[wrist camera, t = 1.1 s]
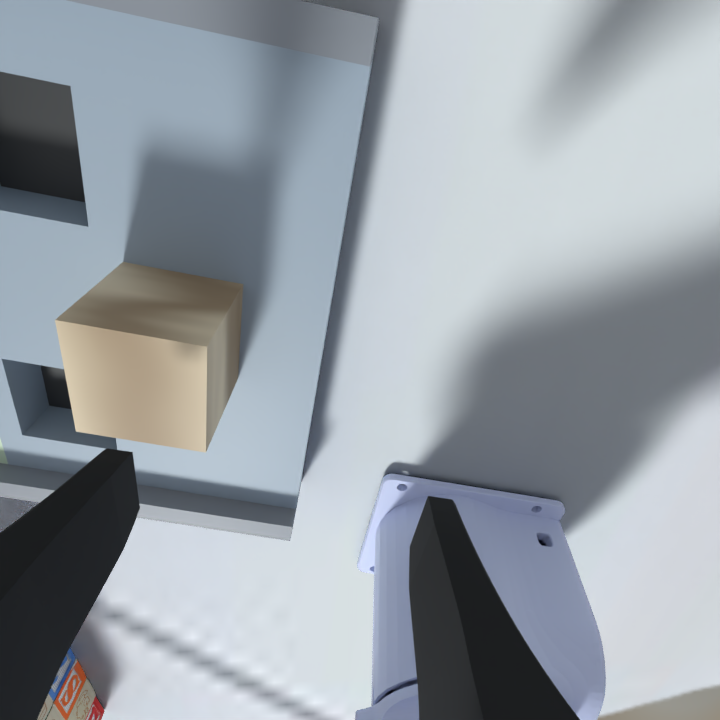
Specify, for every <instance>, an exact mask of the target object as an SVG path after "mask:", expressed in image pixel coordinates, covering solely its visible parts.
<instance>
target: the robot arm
mask: <svg viewBox="0 0 720 720" xmlns="http://www.w3.org/2000/svg"><path fill="white" fill-rule="evenodd" d="M399 484H405V485H399ZM139 510H140V505H139V497H138V489H137V482H136V474H135V466H134V459H133V452H129V451H122V450H115V449H108V448H107V449H105V450H103V451H102V452H101V453H100V454H98V455H97V456H96V457H95V458H94V459H92V460H91V461H90V462H89V463H88V464H86V465H85V466H84V467H83V468H82V469H80V470H79V471H78V472H77V473H76V474H74V475H73V476H72V477H71V478H70V479H68V480H67V481H66V482H65V483H64V484H62V485H61V486H60V487H59V488H57V489H56V490H55V491H54V492H53V493H51V494H50V495H49V496H48V497H46V498H45V499H44V500H42V501H41V502H40V503H39V504H37V505H36V506H35V507H34V508H32V509H31V510H30V511H29V512H27V513H26V514H25V515H23V516H22V517H21V518H20V519H18V520H17V521H16V522H14V523H13V524H12V525H10V526H9V527H8V528H6V529H5V530H3V531H2V532H1V533H0V720H37V719H38V716H39V714H40V712H41V709H42V707H43V705H44V703H45V700H46V698H47V696H48V693H49V691H50V689H51V687H52V684H53V682H54V680H55V678H56V675H57V673H58V671H59V669H60V666H61V664H62V662H63V660H64V658H65V656H66V654H67V652H68V650H69V648H70V646H71V644H72V642H73V640H74V639H75V637H76V635H77V633H78V631H79V630H80V628H81V626H82V624H83V622H84V620H85V619H86V617H87V615H88V613H89V611H90V610H91V608H92V606H93V604H94V602H95V601H96V599H97V597H98V595H99V593H100V591H101V590H102V588H103V586H104V584H105V582H106V581H107V579H108V577H109V575H110V573H111V571H112V570H113V568H114V566H115V564H116V562H117V560H118V558H119V557H120V555H121V553H122V551H123V549H124V547H125V544H126V542H127V539H128V537H129V535H130V532H131V530H132V527H133V525H134V522H135V520H136V517H137V515H138V512H139ZM564 513H565V508H564V505H563V503H562V502H560V501H557V500H551V499H545V498H539V497H533V496H527V495H521V494H515V493H508V492H502V491H496V490H490V489H484V488H478V487H472V486H466V485H460V484H453V483H447V482H441V481H435V480H429V479H423V478H417V477H411V476H405V475H398V474H388V475H386V476H384V477H383V479H382V482H381V486H380V489H379V492H378V495H377V499H376V502H375V505H374V509H373V512H372V515H371V519H370V522H369V525H368V528H367V532H366V535H365V538H364V542H363V545H362V548H361V551H360V555H359V558H358V563H357V568H358V569H359V570H360V571H362V572H366V573H373V574H374V606H373V655H372V703H371V707H369V708H366V709H361V710H357V711H356V717H355V720H597V718H598V716H599V714H600V711H601V708H602V705H603V701H604V695H605V681H606V676H605V660H604V653H603V646H602V641H601V637H600V633H599V630H598V626H597V623H596V620H595V618H594V615H593V612H592V609H591V606H590V604H589V601H588V598H587V595H586V593H585V590H584V587H583V584H582V582H581V579H580V576H579V573H578V570H577V568H576V565H575V562H574V559H573V557H572V554H571V551H570V548H569V546H568V543H567V540H566V537H565V534H564V532H563V529H562V526H561V523H560V519H561V518H562V516H563V515H564Z"/></svg>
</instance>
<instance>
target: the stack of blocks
mask: <svg viewBox="0 0 720 720" xmlns="http://www.w3.org/2000/svg"><path fill="white" fill-rule="evenodd" d="M103 713H104V709H103V707H102V706H101V704H100V702H99V701H98V699H97V697H96V693H95V691H94V689H93V687H92V686H91V684H90V682H89V680H88V679H87V678H86V675H85V673H84V671H83V669H82V667H81V665H80V664H79V662H78V660H77V659H75V656H74V654H73V652H72V651H71V649H70V648H69V650H68V652H67V654H66V656H65V658H64V660H63V662H62V664H61V666H60V669H59V671H58V673H57V675H56V678H55V680H54V682H53V684H52V687H51V689H50V691H49V693H48V696H47V698H46V700H45V703H44V705H43V707H42V709H41V712H40V714H39V716H38V719H37V720H101V719H102V716H103Z"/></svg>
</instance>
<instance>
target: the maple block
mask: <svg viewBox="0 0 720 720" xmlns="http://www.w3.org/2000/svg"><path fill="white" fill-rule="evenodd" d="M242 299H243V284H240V283H234V282H229V281H224V280H218V279H213V278H207V277H202V276H197V275H191V274H186V273H181V272H175V271H170V270H164V269H159V268H154V267H148V266H143V265H137V264H132V263H127V262H122V263H121V264H120V265H119V266H118V267H116V268H115V269H114V270H113V271H112V272H111V273H109V274H108V275H107V276H106V277H105V278H103V279H102V280H101V281H100V282H99V283H98V284H96V285H95V286H94V287H93V288H92V289H91V290H89V291H88V292H87V293H86V294H85V295H84V296H82V297H81V298H80V299H79V300H78V301H77V302H75V303H74V304H73V305H72V306H71V307H69V308H68V309H67V310H66V311H65V312H64V313H62V314H61V315H60V316H59V317H58V318H57V319H55V323H56V329H57V334H58V339H59V344H60V350H61V355H62V360H63V366H64V371H65V376H66V382H67V387H68V392H69V397H70V403H71V408H72V413H73V419H74V424H75V429H76V432H82V433H88V434H94V435H100V436H106V437H112V438H119V439H125V440H131V441H137V442H143V443H149V444H156V445H162V446H168V447H174V448H180V449H186V450H193V451H199V452H205V453H206V451H207V449H208V447H209V444H210V442H211V440H212V438H213V435H214V433H215V431H216V428H217V426H218V424H219V421H220V419H221V417H222V414H223V412H224V410H225V407H226V405H227V403H228V401H229V398H230V396H231V394H232V391H233V389H234V387H235V384H236V382H237V380H238V371H239V353H240V335H241V317H242Z"/></svg>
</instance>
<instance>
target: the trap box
mask: <svg viewBox="0 0 720 720" xmlns="http://www.w3.org/2000/svg"><path fill="white" fill-rule="evenodd" d="M378 28H379V19H378V17H373V16H369V15H364V14H360V13H355V12H351V11H346V10H342V9H338V8H333V7H329V6H324V5H320V4H315V3H311V2H307V1H302V0H0V497H5V498H12V499H18V500H25V501H32V502H38V503H40V502H41V501H42V500H44V499H45V498H46V497H48V496H49V495H50V494H51V493H53V492H54V491H55V490H56V489H57V488H59V487H60V486H61V485H62V484H64V483H65V482H66V481H67V480H68V479H70V478H71V477H72V476H73V475H74V474H76V473H77V472H78V471H79V470H80V469H82V468H83V467H84V466H85V465H86V464H88V463H89V462H90V461H91V460H92V459H94V458H95V457H96V456H97V455H98V454H100V453H101V452H102V451H103V450H105V449H107V448H108V449H115V450H122V451H129V452H133V459H134V466H135V474H136V482H137V489H138V497H139V505H140V510H139V512H138V515H137V518H143V519H150V520H156V521H163V522H169V523H176V524H183V525H189V526H196V527H202V528H209V529H215V530H222V531H229V532H235V533H242V534H248V535H255V536H261V537H268V538H274V539H281V540H288V541H290V539H291V534H292V528H293V523H294V518H295V512H296V507H297V502H298V497H299V491H300V486H301V480H302V475H303V469H304V463H305V457H306V451H307V445H308V439H309V433H310V428H311V422H312V416H313V410H314V404H315V398H316V392H317V386H318V380H319V375H320V369H321V363H322V357H323V351H324V345H325V339H326V333H327V328H328V322H329V316H330V310H331V304H332V298H333V292H334V286H335V280H336V275H337V269H338V263H339V257H340V251H341V245H342V239H343V233H344V228H345V222H346V216H347V210H348V204H349V198H350V192H351V186H352V180H353V175H354V169H355V163H356V157H357V151H358V145H359V139H360V133H361V128H362V122H363V116H364V110H365V104H366V98H367V92H368V86H369V80H370V75H371V69H372V63H373V57H374V51H375V45H376V39H377V33H378ZM122 262H127V263H132V264H137V265H143V266H148V267H154V268H159V269H164V270H170V271H175V272H181V273H186V274H191V275H197V276H202V277H207V278H213V279H218V280H224V281H229V282H234V283H240V284H243V299H242V317H241V335H240V353H239V371H238V380H237V382H236V384H235V387H234V389H233V391H232V394H231V396H230V398H229V401H228V403H227V405H226V407H225V410H224V412H223V414H222V417H221V419H220V421H219V424H218V426H217V428H216V431H215V433H214V435H213V438H212V440H211V442H210V444H209V447H208V449H207V451H206V453H205V452H199V451H193V450H186V449H180V448H174V447H168V446H162V445H156V444H149V443H143V442H137V441H131V440H125V439H119V438H112V437H106V436H100V435H94V434H88V433H82V432H76V429H75V424H74V419H73V413H72V408H71V403H70V397H69V392H68V387H67V382H66V376H65V371H64V366H63V360H62V355H61V350H60V344H59V339H58V334H57V329H56V323H55V319H57V318H58V317H59V316H60V315H61V314H62V313H64V312H65V311H66V310H67V309H68V308H69V307H71V306H72V305H73V304H74V303H75V302H77V301H78V300H79V299H80V298H81V297H82V296H84V295H85V294H86V293H87V292H88V291H89V290H91V289H92V288H93V287H94V286H95V285H96V284H98V283H99V282H100V281H101V280H102V279H103V278H105V277H106V276H107V275H108V274H109V273H111V272H112V271H113V270H114V269H115V268H116V267H118V266H119V265H120V264H121V263H122Z"/></svg>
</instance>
